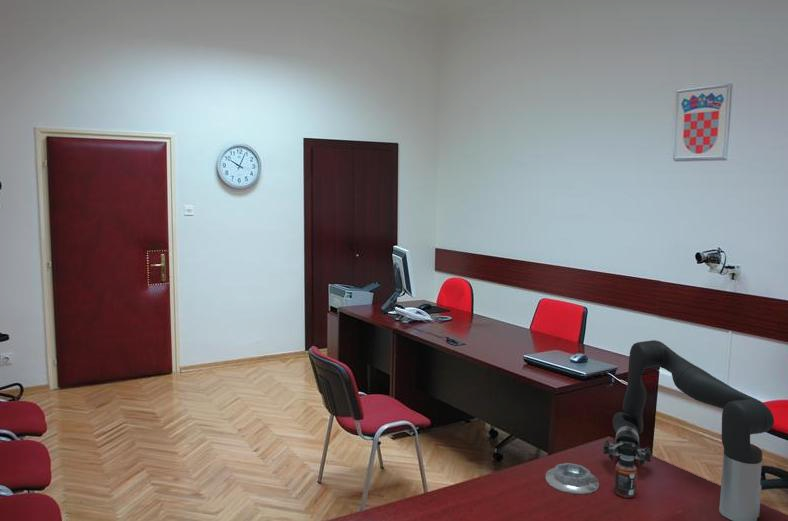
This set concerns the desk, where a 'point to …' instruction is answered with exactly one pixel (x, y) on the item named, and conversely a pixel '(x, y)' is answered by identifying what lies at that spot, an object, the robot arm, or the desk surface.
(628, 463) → the supplement bottle
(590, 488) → the steel collar
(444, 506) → the desk surface
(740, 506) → the robot arm
